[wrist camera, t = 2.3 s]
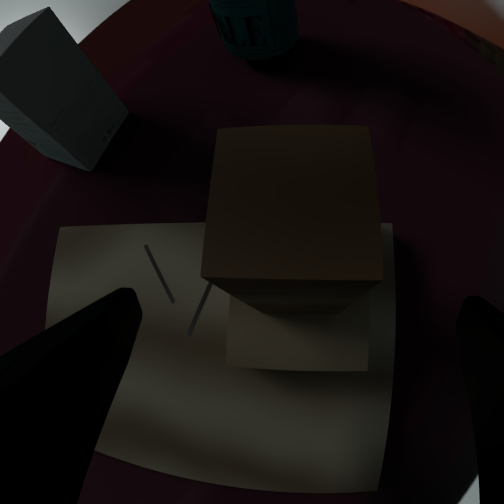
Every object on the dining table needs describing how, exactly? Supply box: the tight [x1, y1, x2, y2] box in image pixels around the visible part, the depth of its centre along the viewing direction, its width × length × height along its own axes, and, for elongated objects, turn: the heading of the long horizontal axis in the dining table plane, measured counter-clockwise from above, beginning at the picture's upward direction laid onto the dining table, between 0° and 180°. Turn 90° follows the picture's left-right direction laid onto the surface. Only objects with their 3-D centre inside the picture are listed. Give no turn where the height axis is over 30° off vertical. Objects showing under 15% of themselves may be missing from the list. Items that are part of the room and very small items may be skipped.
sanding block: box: [200, 125, 383, 371], centre depth 11 cm, size 8×6×11 cm
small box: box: [0, 7, 129, 172], centre depth 18 cm, size 8×6×13 cm
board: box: [45, 222, 396, 493], centre depth 17 cm, size 15×22×2 cm
